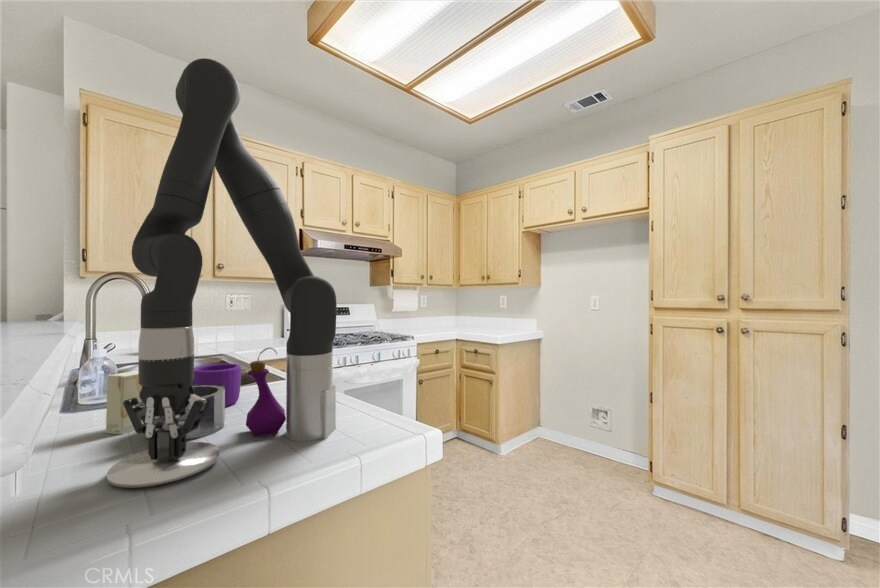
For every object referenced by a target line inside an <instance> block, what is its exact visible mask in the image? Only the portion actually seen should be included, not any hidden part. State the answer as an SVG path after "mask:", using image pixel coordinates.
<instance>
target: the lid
mask: <svg viewBox="0 0 880 588" xmlns="http://www.w3.org/2000/svg"><path fill="white" fill-rule="evenodd" d="M170 438H172V437H171V434H170V427H166V428H162V429H159V430H158V431H157V460H151V458H150V456H149V453H148V450H149V449H146V450H143V451H139V452H137V453H134V454H132V455H129V456H127V457H125V458H123V459H121V460H120V461H118V462H116V463H115V464H113V465H112V466H111V467H110V468H109V469H107V479H106V480H107V482H108V484H109V485H111V486H114V487H117V488H125V489H126V488H131V489H136V488H146V487H147V488H148V487H154V486H155V487H156V486H159V485H163V484H169V483H173V482H176V481H180V480H182V479H186V478H189V477H192V476H194V475H195V474H199V473H200V472H202V471H205V470H207V469H208V468H209V467H211V466H213V465H214V464H216V462H217V460H219V458H220V448H219V446H217V445H216V444H214V443H210V442H203V441H191V442H190V441H186V451H185V453H184V454H183V456H182V457H180V458H179V459H177V460H170Z"/></svg>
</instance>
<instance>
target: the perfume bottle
mask: <svg viewBox="0 0 880 588" xmlns="http://www.w3.org/2000/svg"><path fill="white" fill-rule="evenodd" d="M267 350H272V351H274V352H275V354H276V355H278V352H277V350H276V349H275V348H274V347H272V346H271V347H269V346H268V347H265V348H264V349H263V350H261V351H260V352H259V355H258V357H257V360H254V361H252V362H250V363H249V366H250V369H251V370H249V371H247V375H248V376H250V377H252V378H253V379H254V381H255V383H256V384H257V389H258V398H257V400H256V401H255V403H254V405H252V407H251V408H250V410H249V411H248V412H247V415H246V420H245V426H246V428H247V429H248V430H249V431H250V433H252V434H253V436H255V437H264V436H270V435H271V436H272V435H276V434H278V433H279V431H280V430H281V428H282V426H283V425H284V424H285V422H286V412H285V408H283V407H282V406H283V405H281V404H280V403H279V402H278V400H277V399H276V397H275V396H274V395H273V393H272V391H271V388H270V386H269V384H268V382H267V378H266V377H267V374H270V370H269V368H266V363H265V362H264V361H261V360H260V356H261V354H262V353H264V352H265V351H267Z"/></svg>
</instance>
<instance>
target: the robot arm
mask: <svg viewBox="0 0 880 588" xmlns="http://www.w3.org/2000/svg"><path fill="white" fill-rule="evenodd" d="M240 99H241V89H240V86H239V83H238V80H237V77H235V75H234V74H233V72H232V71H231V70H230V69H229V68H228V67H227V66H225V65H224V64H223V63H222V62H219V61H217V60H215V59H211V58H205V57H204V58H197V59H195V60H193V61H191V62H190V63H189V64H187V65H186V67H185V68H184V69H183V70H182V72H181V75H180V76H179V80H178V82H177V84H176V87H175V100H176V103H177V106H178V108H179V110H180V112H181V113H182V117H181V121H180V124H179V128H178V131H177V134H176V137H175V139H174V142H173V144H172V147H171V149H170V151H169V155H168V157H167V160H166V162H165V165H164V166H163V167H164V168H163V169H162V173H161V176H160V179H159V184H158V187H157V191H156V194H155V197H154V201H153V202H154V203H153V206H152V208H151V209H150V211H149V212H148V214H147V215H146V216H145V218H144V221H143V222H142V223H141V226H140V227H139V229H138V231H137V232H136V235H135V237H134V240H133V241H132V245H131V246H132V247H131V259H132V262H133V264H134V266H135V268H136V269H137V271H139V272H140V273H142V274H143V275H146V276H148V277H149V276H150V277H152V278H153V277H154V278H155V277H156V280H155V282H154V283H155V284H154V288H153V289H152V290H151V291H150V292H146V293H145V294H144V295H143V296H142V298H141V300H140V301H141V302H140V332H139V337H138V370H137V371H138V382H139V385H141V386H142V389H141V391H140V393H139V395H138V396H136V397H133V398H130V399H128V400H125V401H124V403H123V405H124V407H125V409H126V411H127V414H128V416H129V418H130V420H131V423H132V425H133V427H134V429H135V430H134V431H135V433H136V434H144V435H145V438H146V437H148V440H147V441H148V442H147V443H148V448H147V450H148V453H149V456H150V458H151V460H157V431H158V430H159V429H162V428H164V426H165V420H166V423H167V424H168V425H169V427H170V434H171V437H172V438H170V460H177V459H179V458H180V457H182V456H183V454H184V453H185V451H186V442H187V441H186V434H187V433H189V432H191V431H193V430H195V429H197V428H198V426H199V424H200V422H201V420H202V418H203V415H204V413H205V411H206V409H207V407H208V405H209V402H210V399H209V398H208V397H204V398H201V397H199V396H197V395H195V391H194V389H193V387H192V381H193V379H194V368H195V337H194V336H195V335H194V332H193V302H194V297H195V295H196V292H197V288H198V284H199V281H200V277H201V273H202V270H203V255H202V251H201V248H200V245H199V244H198V243H197V242H196V240H195V239H194V238H193V237H191V236H189V235H187V234H186V233H187V232H188V230H190V229H191V228H194V227H195V226H197V225H199V224H201V223H200V222H201V221H202V219H203V216H204V214H205V213H204V211H205V209H206V205H207V201H208V200H207V199H208V197H209V191H210V187H211V181H212V178H213V173H214V169H215V170H216V172H217V174H218V176H219V178H220V179H221V182H222V184H223V186H224V187H225V189H226V192H227V193H228V196H229V198H230V200H231V202H232V204H233V206H234V207H235V208H234V209H235V210H236V213H237V214H238V216H239V218H240V219H241V222H242V223H243V224H244V226H245V228H246V230H247V231H248V234H249V235H250V237H251V238H252V240H253V243H254V244H255V245H256V247H257V249H258V250H259V252H260V254H261V255H262V257H263V259H264V260H265V261H266V263H267V265H268V267H269V269H270V271H271V274H272V276H273V279H274V281H275V284H276V286H277V289H278V291H279V294H280V296H281V298H282V301H283V304H284V307H285V308H286V310H287V311H288V312H289V315H290V317H289V321H290V323H289V334H288V338H287V341H286V374H285V375H286V385H285V387H286V399H285V400H286V401H285V402H286V403H285V405H286V412H285V417H286V420H285V422H286V425H285V426H286V427H285V429H286V434H285V435H286V439H288V440H290V441H294V442H311V441H317V440H326V439H328V437H330V435H331V434H332V433H333V432H334V431H335V430H336V428H337V427H336V424H337V423H336V421H337V419H336V417H337V416H336V414H337V413H336V409H337V408H336V400H337V399H336V397H337V396H336V393H337V391H336V390H337V388H336V387H337V386H336V385H334V384H333V345H334V341H335V339H336V338H335V337H336V332H337V331H336V329H337V328H336V327H337V295H336V292H335V289H334V286H333V285H332V284H331V283H330V282H329V281H328V280H327V279H326V278H323V277H321V276H316V275H314V273H313V272H312V270H311V268H310V267H309V264H308V263H307V261H306V259H305V257H304V255H303V253H302V251H301V247H300V244H299V240H298V235H297V230H296V226H295V222H294V221H295V220H294V218H293V215H292V212H291V209H290V207H289V204H288V203H287V200H286V198H285V196H284V194H283V193H282V190H281V188H280V186H279V184H278V183H277V180H275V178H274V177H273V176H272V175H271V173H270V172H269V171H268V170H267V169H266V168H265V167H264V166H263V165H262V164H261V163H260V162H259V161H258V160H257V159H256V158H255V157H254V156H253V155H252V154H251V153H250V151H249V150H248V149H247V147H246V145H245V143H244V142H243V140H242V137H241V136H240V133H239V131H238V130H237V127H236V125H235V123H234V120H233V116H232V115H233V113H234V112H235V111H236V110H237V108H238V106H239V104H240ZM189 403H190V406H189V409H190V412H189V414H188V409H187V405H188V404H189ZM177 414H178V416H176V417H175V415H177ZM140 418H141V419H142V421H143V423H144V424H142V422H141V419H140ZM178 424H179V425H178Z"/></svg>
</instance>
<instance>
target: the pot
mask: <svg viewBox="0 0 880 588" xmlns="http://www.w3.org/2000/svg"><path fill="white" fill-rule="evenodd" d="M192 387H193V389H194V391H195V395H197V396H199V397H201V398H204V397H208V398H209V399H210V402H209V405H208V407H207V409H206V411H205V413H204V415H203V418H202V420H201V422H200V424H199V426H198V428H197V429H195V430H193V431H191V432H189V433H187V434H186V442H189V441H193V440H196V439H200V438H204V437H207V436H210V435H212V434H213V435H214V434H216V433H217V432H219V431H221V430H222V429H223V428H224V427H225V421H226V419H225V418H226V412H225V411H226V407H225V385H200V386H192ZM189 406H190V403H189V404H188V405H187V409H188V414H189V412H190V409H189ZM176 416H178V414H177V415H175V417H176ZM140 419H141V418H140ZM141 420H142V419H141ZM178 425H179V424H178ZM166 427H169V425H168V424H167V423H166V420H165V426H164V428H166ZM145 439H146V441H148V437H146V436H145Z"/></svg>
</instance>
